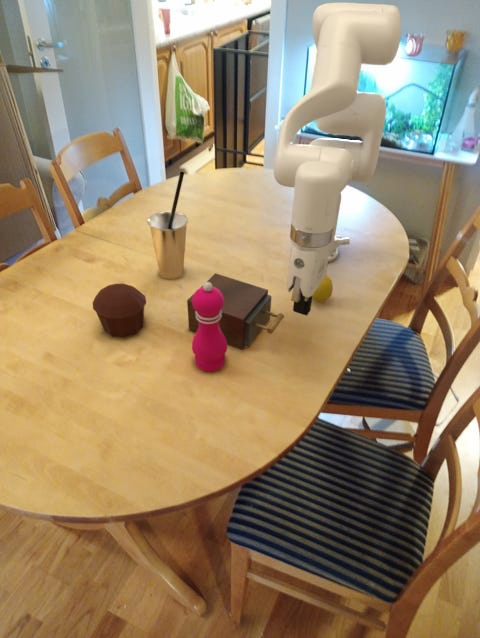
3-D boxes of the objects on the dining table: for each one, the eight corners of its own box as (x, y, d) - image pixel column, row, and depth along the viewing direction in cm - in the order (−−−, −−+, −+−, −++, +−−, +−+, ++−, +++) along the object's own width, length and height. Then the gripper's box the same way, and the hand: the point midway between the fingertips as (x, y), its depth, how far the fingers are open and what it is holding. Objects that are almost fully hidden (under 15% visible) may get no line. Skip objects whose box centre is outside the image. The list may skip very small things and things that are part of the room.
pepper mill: (192, 350, 102) (187, 272, 89) (226, 349, 102) (226, 271, 90) (192, 374, 96) (187, 295, 83) (228, 373, 96) (228, 293, 84)
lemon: (332, 297, 117) (336, 270, 112) (327, 310, 113) (332, 283, 108) (310, 293, 119) (314, 266, 114) (305, 305, 115) (309, 278, 110)
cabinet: (266, 319, 110) (268, 289, 105) (242, 350, 102) (243, 319, 96) (215, 302, 115) (215, 273, 110) (188, 330, 107) (186, 300, 101)
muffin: (158, 318, 110) (154, 283, 104) (131, 347, 102) (125, 311, 96) (116, 305, 114) (110, 270, 107) (87, 332, 106) (78, 296, 99)
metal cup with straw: (188, 287, 120) (183, 173, 101) (146, 282, 121) (133, 167, 102) (199, 265, 128) (196, 155, 109) (159, 260, 130) (149, 151, 111)
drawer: (287, 325, 107) (289, 301, 103) (266, 354, 100) (268, 329, 96) (222, 303, 113) (222, 280, 109) (198, 329, 106) (197, 305, 101)
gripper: (316, 258, 78) (304, 339, 90) (344, 220, 89) (331, 297, 100) (275, 246, 81) (269, 326, 93) (307, 210, 91) (298, 287, 103)
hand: (301, 311), depth 97 cm, fingers closed
